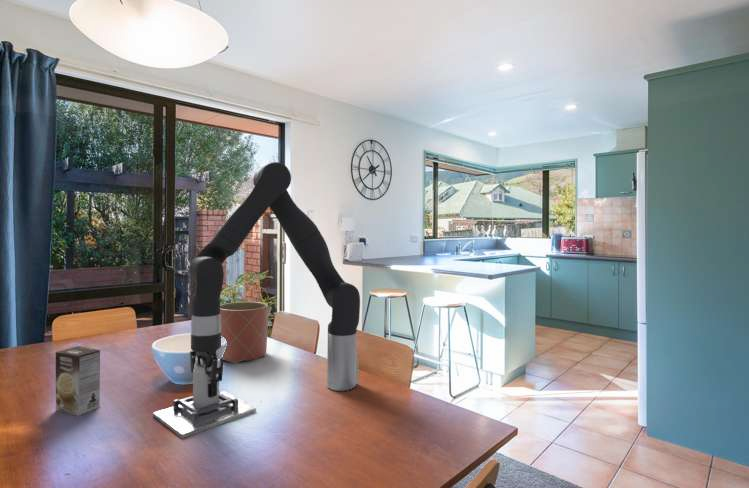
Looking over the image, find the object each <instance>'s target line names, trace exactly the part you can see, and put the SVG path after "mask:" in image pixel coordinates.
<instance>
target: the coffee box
mask: <svg viewBox="0 0 749 488" xmlns="http://www.w3.org/2000/svg"><path fill="white" fill-rule="evenodd" d="M100 386H101V349H96V348H90V347H84V346H80V345H77V346H74V347H69V348H65V349H63V350H59V351H56V352H55V411H57V412H61V413H65V414H69V415H73V416H78V417H79V416H81V414H82V415H84V414H86V413H88V412H89V413H90V411H93V409H94V410H96V409H99V408H100V407H101V406H100V405H101V403H100V401H101V398H100V397H101V396H100V395H101V387H100Z"/></svg>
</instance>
